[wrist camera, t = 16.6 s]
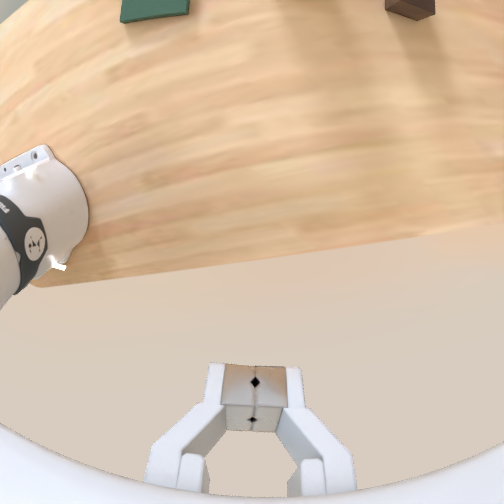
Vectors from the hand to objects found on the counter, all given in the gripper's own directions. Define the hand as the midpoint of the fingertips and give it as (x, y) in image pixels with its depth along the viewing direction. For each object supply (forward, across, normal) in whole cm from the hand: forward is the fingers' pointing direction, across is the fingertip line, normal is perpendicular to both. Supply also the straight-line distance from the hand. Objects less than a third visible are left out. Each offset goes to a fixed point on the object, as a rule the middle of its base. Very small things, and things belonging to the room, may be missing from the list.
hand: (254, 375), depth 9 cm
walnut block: (+27, +15, +25) cm, 40 cm away
